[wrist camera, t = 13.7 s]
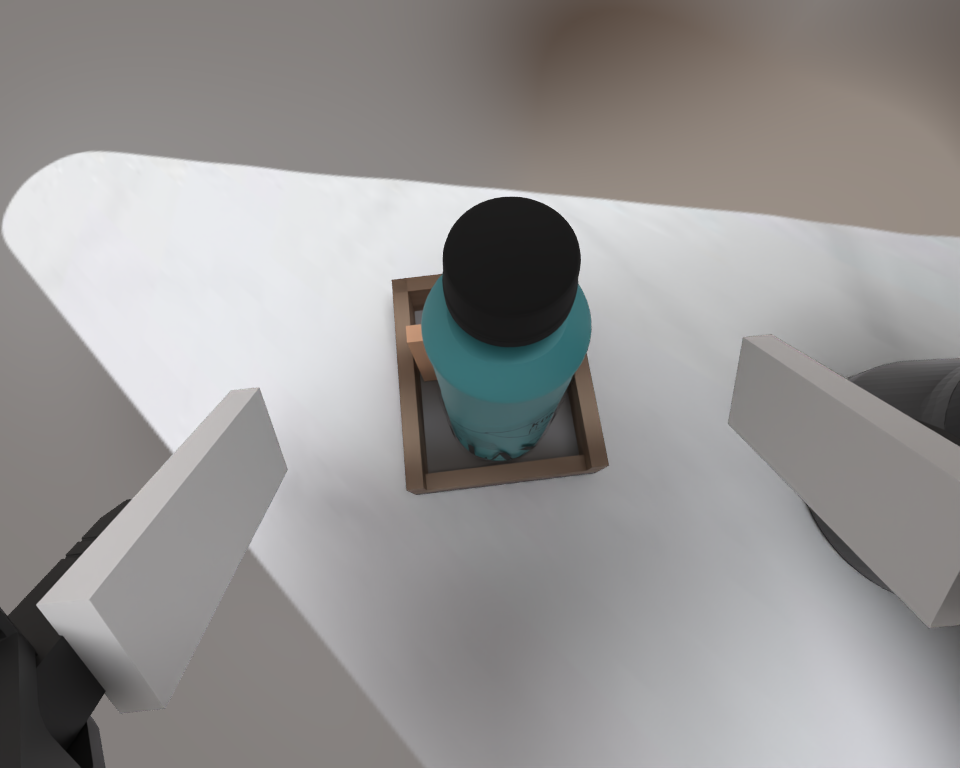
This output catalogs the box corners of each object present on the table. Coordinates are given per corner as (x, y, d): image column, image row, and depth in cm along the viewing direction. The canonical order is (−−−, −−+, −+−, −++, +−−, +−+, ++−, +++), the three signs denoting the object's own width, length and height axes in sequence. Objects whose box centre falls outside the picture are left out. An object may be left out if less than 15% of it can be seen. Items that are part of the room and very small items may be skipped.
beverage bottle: (436, 448, 31) (349, 320, 12) (470, 359, 33) (442, 128, 14) (529, 482, 30) (593, 401, 11) (559, 389, 32) (658, 185, 13)
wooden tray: (595, 472, 31) (608, 465, 28) (416, 494, 31) (406, 490, 28) (560, 287, 36) (567, 259, 32) (401, 305, 35) (391, 279, 32)
